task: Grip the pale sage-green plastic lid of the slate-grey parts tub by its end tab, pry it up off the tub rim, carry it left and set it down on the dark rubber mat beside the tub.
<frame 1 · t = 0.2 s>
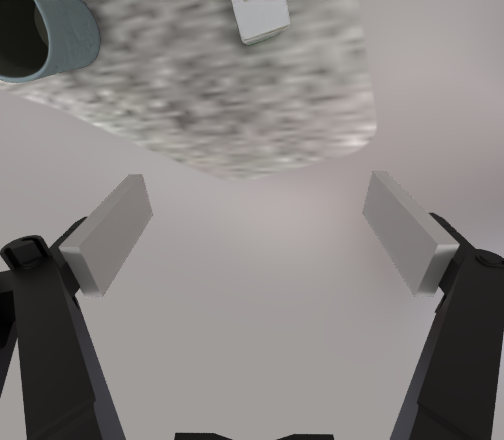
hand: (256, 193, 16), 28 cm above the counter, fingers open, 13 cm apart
teal cup: (68, 28, 35), on the counter
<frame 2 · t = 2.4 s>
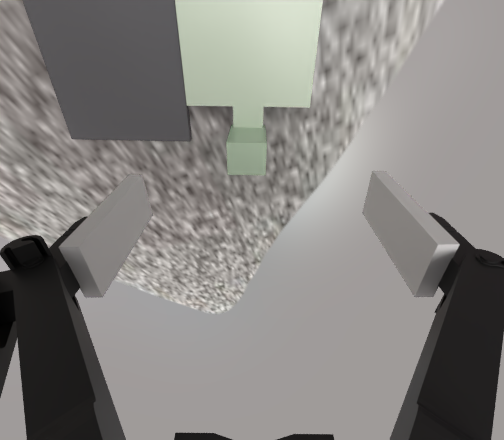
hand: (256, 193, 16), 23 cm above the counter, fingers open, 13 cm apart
mat: (111, 42, 31), on the counter
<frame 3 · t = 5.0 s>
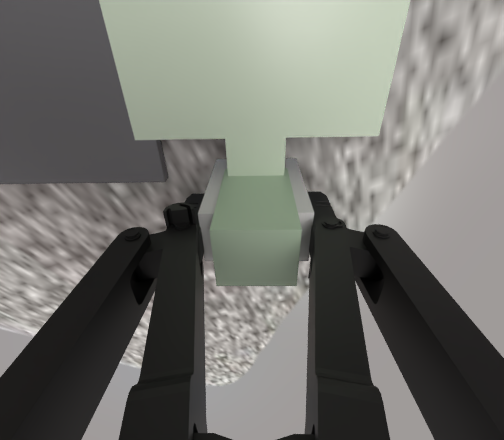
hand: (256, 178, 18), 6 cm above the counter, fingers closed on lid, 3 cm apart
mat: (21, 30, 19), on the counter
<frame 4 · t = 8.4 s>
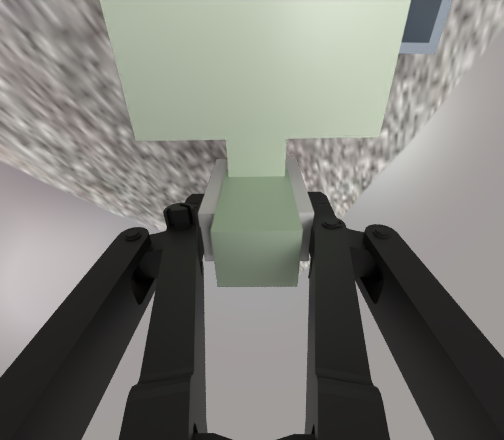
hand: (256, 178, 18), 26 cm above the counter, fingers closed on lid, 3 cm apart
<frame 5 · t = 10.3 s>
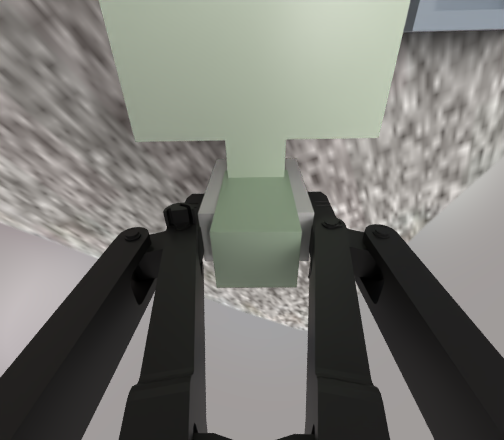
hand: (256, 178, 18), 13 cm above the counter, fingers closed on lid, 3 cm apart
when the fingers open (2 cm above the counter, at t = 11.8 s): lid drops 2 cm, resting on mat.
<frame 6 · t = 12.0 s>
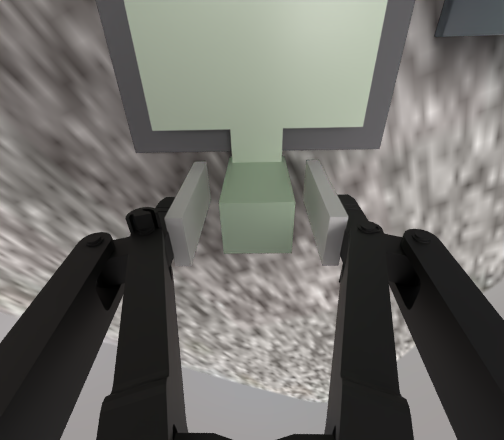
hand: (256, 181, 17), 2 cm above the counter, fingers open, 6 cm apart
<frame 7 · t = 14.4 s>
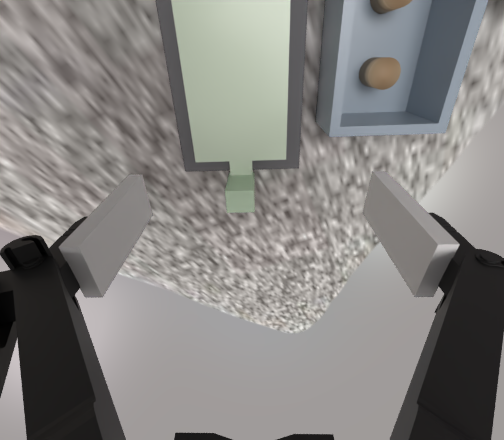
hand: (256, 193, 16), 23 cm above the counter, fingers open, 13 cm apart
mat: (236, 81, 33), on the counter
dowel b: (372, 72, 32), point 1 cm above the counter, touching tub
lid: (236, 84, 32), point 2 cm above the counter, touching mat
tub: (375, 36, 31), on the counter
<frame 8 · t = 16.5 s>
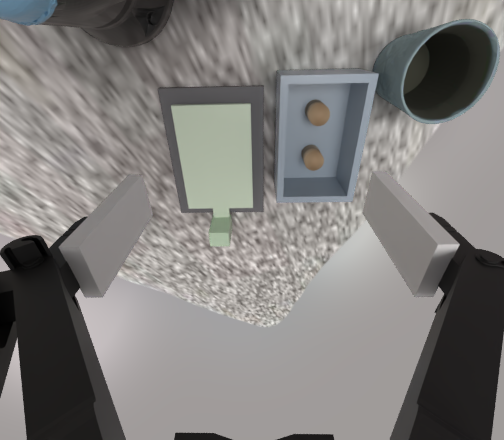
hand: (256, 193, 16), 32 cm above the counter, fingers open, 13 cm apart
mat: (217, 155, 48), on the counter
dowel b: (310, 153, 46), point 1 cm above the counter, touching tub
teal cup: (400, 67, 40), on the counter
dowel a: (314, 109, 42), point 1 cm above the counter, touching tub
lid: (216, 160, 46), point 2 cm above the counter, touching mat
tub: (311, 131, 45), on the counter
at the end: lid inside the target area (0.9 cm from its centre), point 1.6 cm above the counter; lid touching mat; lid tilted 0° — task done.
